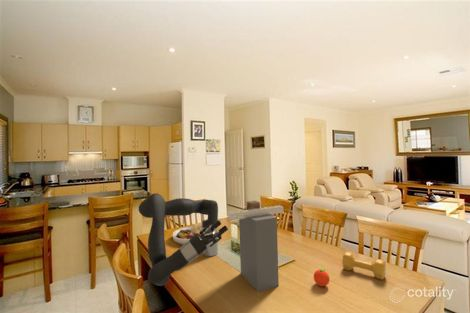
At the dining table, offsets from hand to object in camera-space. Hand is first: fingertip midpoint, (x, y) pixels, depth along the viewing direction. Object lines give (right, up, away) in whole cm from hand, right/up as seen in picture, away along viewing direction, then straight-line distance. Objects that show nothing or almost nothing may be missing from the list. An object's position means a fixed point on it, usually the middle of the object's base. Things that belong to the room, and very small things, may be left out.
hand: (223, 224), depth 108 cm
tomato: (+46, -29, +4) cm, 54 cm away
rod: (+16, +2, +7) cm, 17 cm away
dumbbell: (+70, -28, +13) cm, 76 cm away
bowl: (-25, -30, +69) cm, 79 cm away
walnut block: (+15, +2, +14) cm, 21 cm away
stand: (+17, -30, +10) cm, 35 cm away
